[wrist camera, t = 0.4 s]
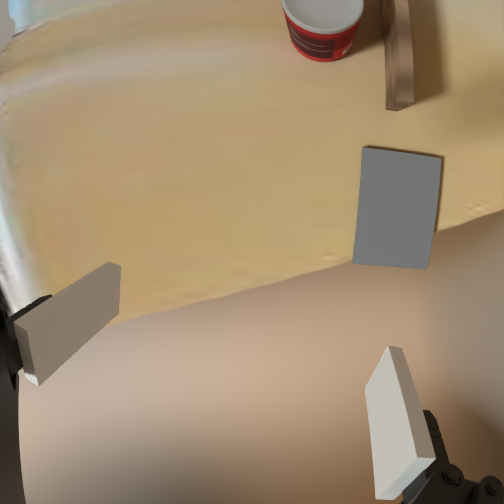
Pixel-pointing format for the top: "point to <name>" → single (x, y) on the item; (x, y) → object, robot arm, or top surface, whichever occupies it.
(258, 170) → the top surface
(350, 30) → the canned food
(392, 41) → the walnut screen
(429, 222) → the slate mat
